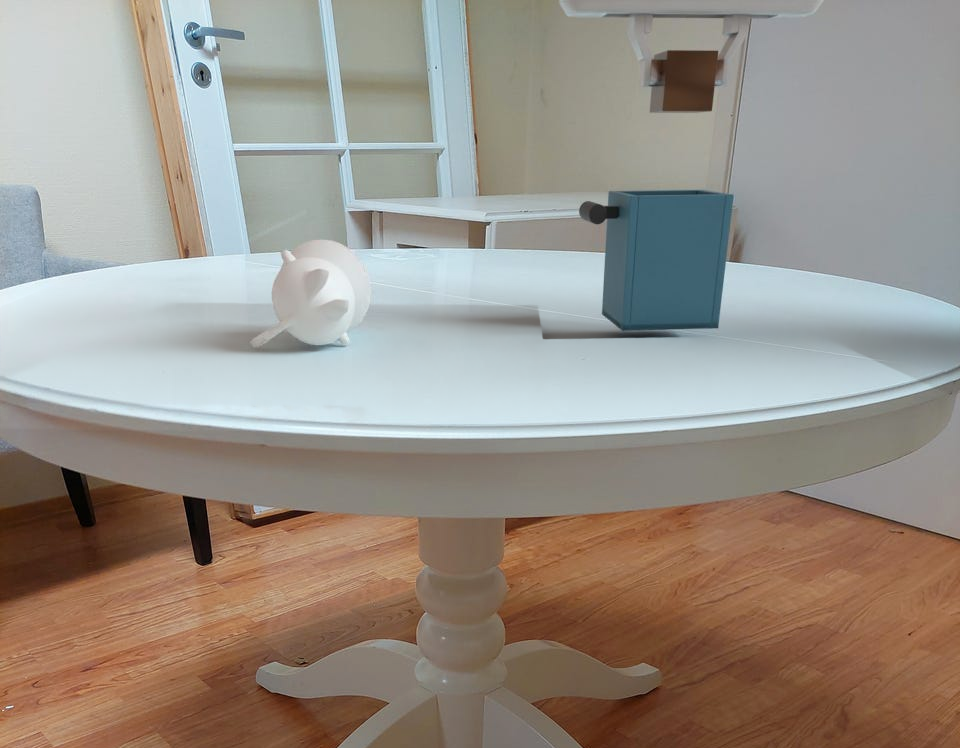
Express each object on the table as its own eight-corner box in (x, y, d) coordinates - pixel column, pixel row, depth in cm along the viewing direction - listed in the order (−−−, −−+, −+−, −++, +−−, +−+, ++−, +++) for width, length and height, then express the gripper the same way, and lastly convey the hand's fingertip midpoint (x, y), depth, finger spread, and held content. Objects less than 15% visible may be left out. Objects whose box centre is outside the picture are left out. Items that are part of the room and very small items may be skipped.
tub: (690, 312, 89) (702, 189, 84) (718, 328, 81) (734, 194, 76) (570, 315, 88) (575, 191, 83) (588, 331, 80) (594, 196, 75)
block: (696, 112, 73) (702, 55, 71) (712, 111, 70) (718, 50, 68) (649, 112, 73) (654, 54, 71) (662, 111, 69) (667, 50, 68)
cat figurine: (313, 226, 66) (337, 210, 77) (206, 306, 69) (243, 280, 80) (381, 329, 70) (395, 300, 80) (277, 400, 73) (303, 363, 83)
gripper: (569, -156, 60) (560, 84, 67) (858, -149, 62) (821, 84, 69) (554, -131, 66) (547, 88, 72) (820, -125, 67) (789, 89, 74)
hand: (682, 87), depth 71 cm, fingers closed on block, 4 cm apart
